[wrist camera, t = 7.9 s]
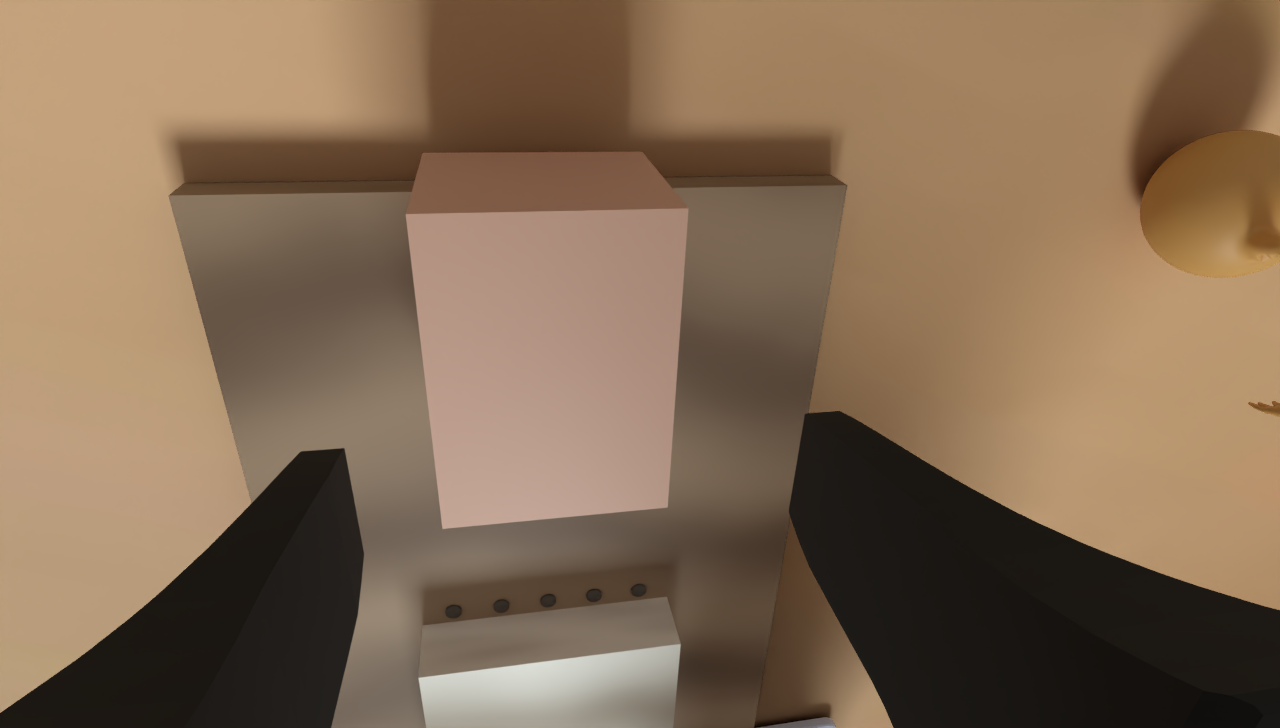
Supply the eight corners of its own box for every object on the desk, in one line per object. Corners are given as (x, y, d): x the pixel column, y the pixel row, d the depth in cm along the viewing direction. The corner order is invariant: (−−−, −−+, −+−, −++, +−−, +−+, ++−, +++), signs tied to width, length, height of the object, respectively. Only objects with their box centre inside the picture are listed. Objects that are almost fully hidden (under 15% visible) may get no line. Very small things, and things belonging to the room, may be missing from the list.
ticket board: (745, 708, 31) (770, 778, 28) (335, 769, 28) (321, 853, 25) (831, 175, 20) (883, 208, 18) (183, 183, 17) (132, 224, 15)
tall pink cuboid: (632, 404, 21) (667, 507, 17) (449, 416, 20) (442, 528, 16) (642, 151, 18) (688, 208, 14) (422, 152, 17) (405, 213, 13)
